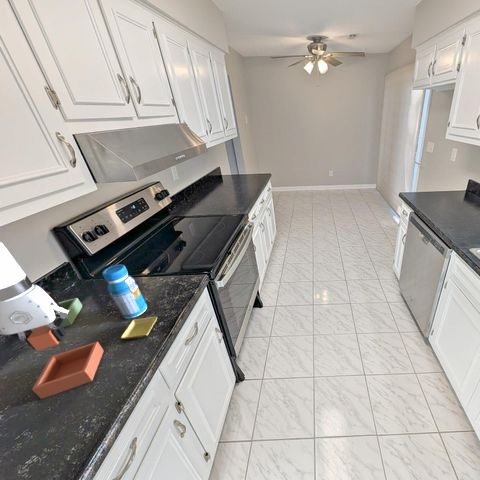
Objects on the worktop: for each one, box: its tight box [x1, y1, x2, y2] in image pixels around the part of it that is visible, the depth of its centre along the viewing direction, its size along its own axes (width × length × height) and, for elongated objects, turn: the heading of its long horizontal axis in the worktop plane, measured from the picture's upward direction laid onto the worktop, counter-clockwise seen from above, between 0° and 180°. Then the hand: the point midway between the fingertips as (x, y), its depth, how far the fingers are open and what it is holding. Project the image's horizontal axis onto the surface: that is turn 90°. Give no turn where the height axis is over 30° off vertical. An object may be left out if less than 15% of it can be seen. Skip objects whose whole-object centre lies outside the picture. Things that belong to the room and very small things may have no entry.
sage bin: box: [31, 297, 83, 331], centre depth 96 cm, size 12×12×5 cm
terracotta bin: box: [31, 341, 105, 400], centre depth 75 cm, size 12×12×5 cm
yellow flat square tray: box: [120, 316, 158, 340], centre depth 89 cm, size 9×9×2 cm
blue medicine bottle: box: [101, 263, 148, 319], centre depth 94 cm, size 8×8×20 cm
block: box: [27, 325, 60, 352], centre depth 69 cm, size 4×4×4 cm
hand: (50, 340), depth 70 cm, fingers closed on block, 4 cm apart
